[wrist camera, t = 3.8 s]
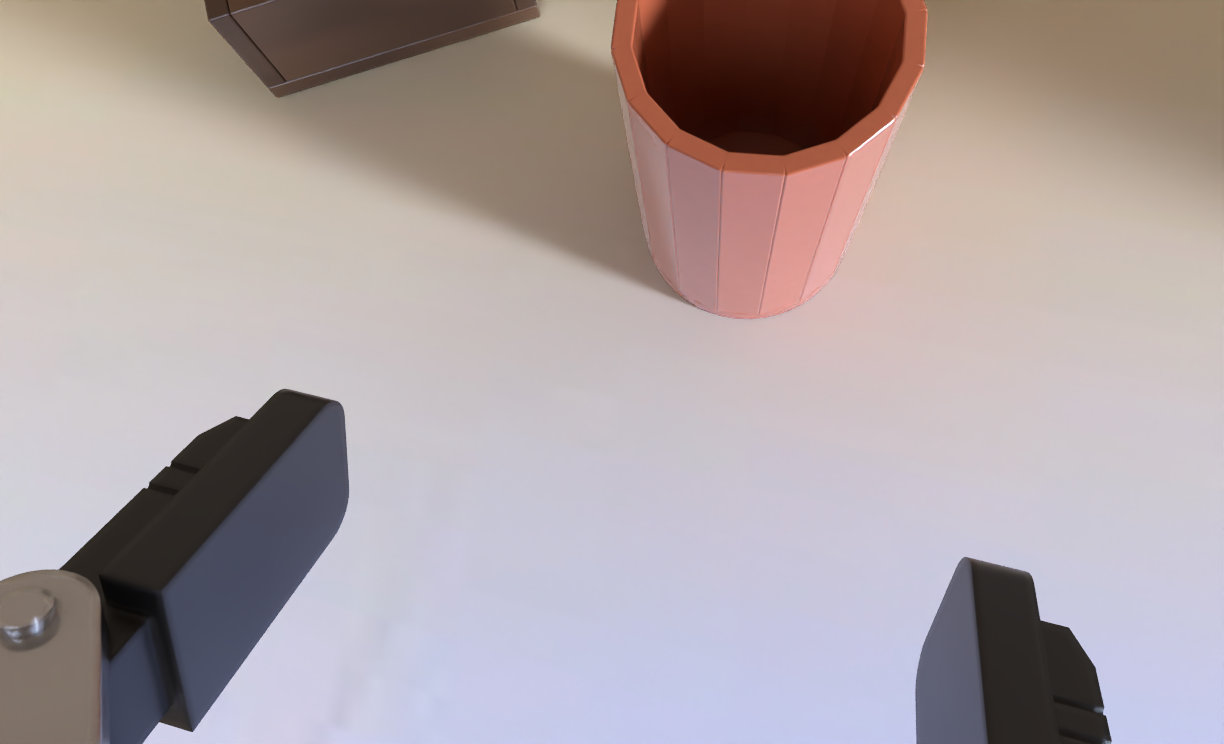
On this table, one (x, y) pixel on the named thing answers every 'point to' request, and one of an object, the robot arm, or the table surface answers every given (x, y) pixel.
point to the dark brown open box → (349, 33)
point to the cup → (760, 136)
